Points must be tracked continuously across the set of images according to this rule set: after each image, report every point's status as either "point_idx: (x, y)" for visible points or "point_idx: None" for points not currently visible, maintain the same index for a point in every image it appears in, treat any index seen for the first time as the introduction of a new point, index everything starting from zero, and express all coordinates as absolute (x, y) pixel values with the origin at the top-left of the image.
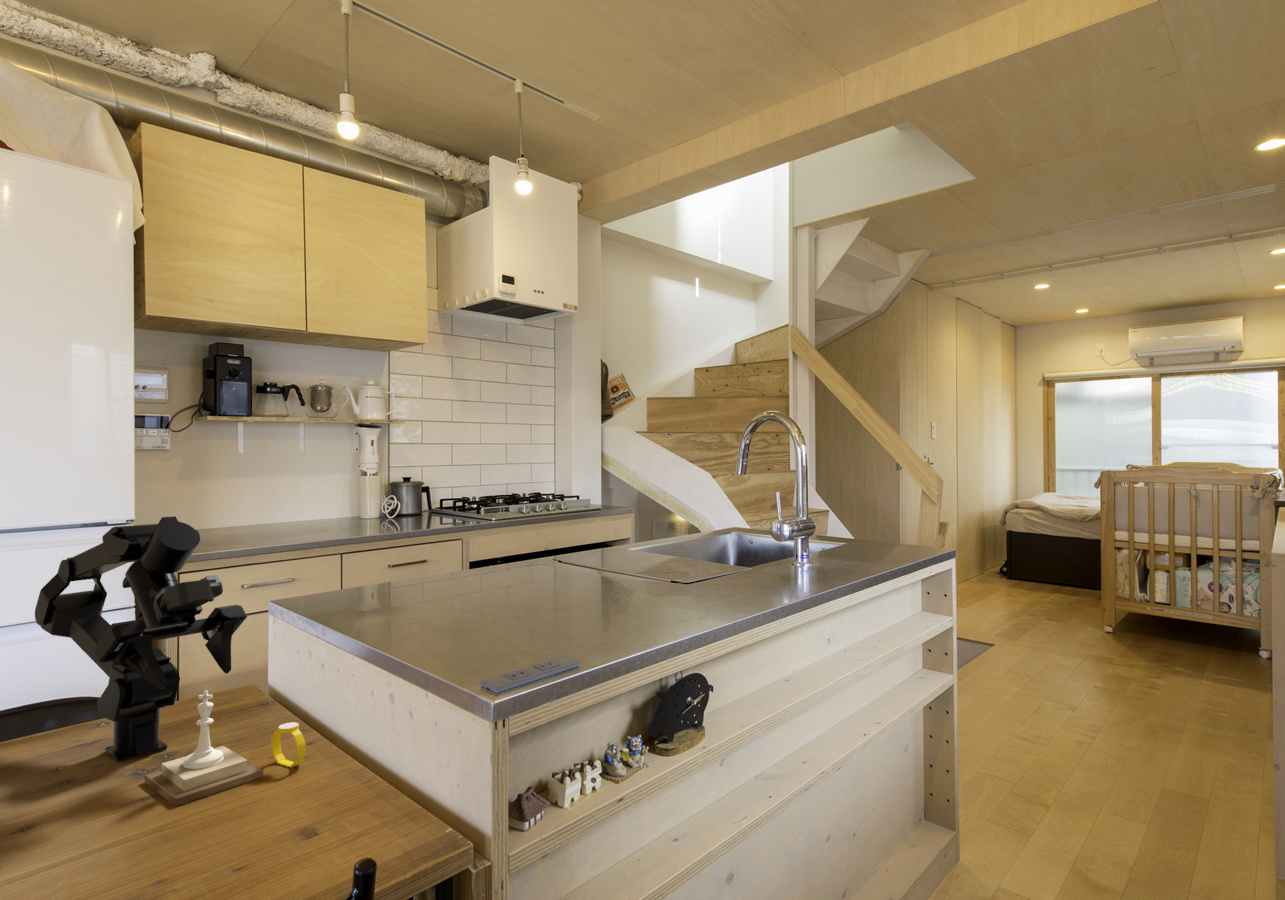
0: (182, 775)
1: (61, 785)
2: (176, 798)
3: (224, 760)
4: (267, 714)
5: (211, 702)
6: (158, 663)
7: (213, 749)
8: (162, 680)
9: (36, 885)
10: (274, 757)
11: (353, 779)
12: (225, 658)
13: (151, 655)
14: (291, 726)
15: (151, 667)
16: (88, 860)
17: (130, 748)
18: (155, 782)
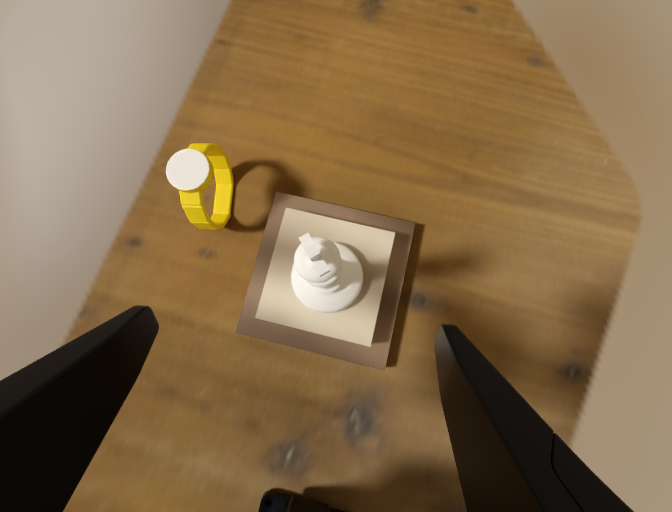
0: (385, 253)
1: (465, 508)
2: (414, 223)
3: None
4: None
5: (300, 252)
6: (496, 423)
7: (301, 280)
8: (462, 338)
9: (624, 182)
10: (225, 222)
11: (225, 65)
12: (100, 346)
13: (571, 510)
14: (189, 158)
15: (537, 415)
16: (560, 185)
17: None
18: (394, 318)
